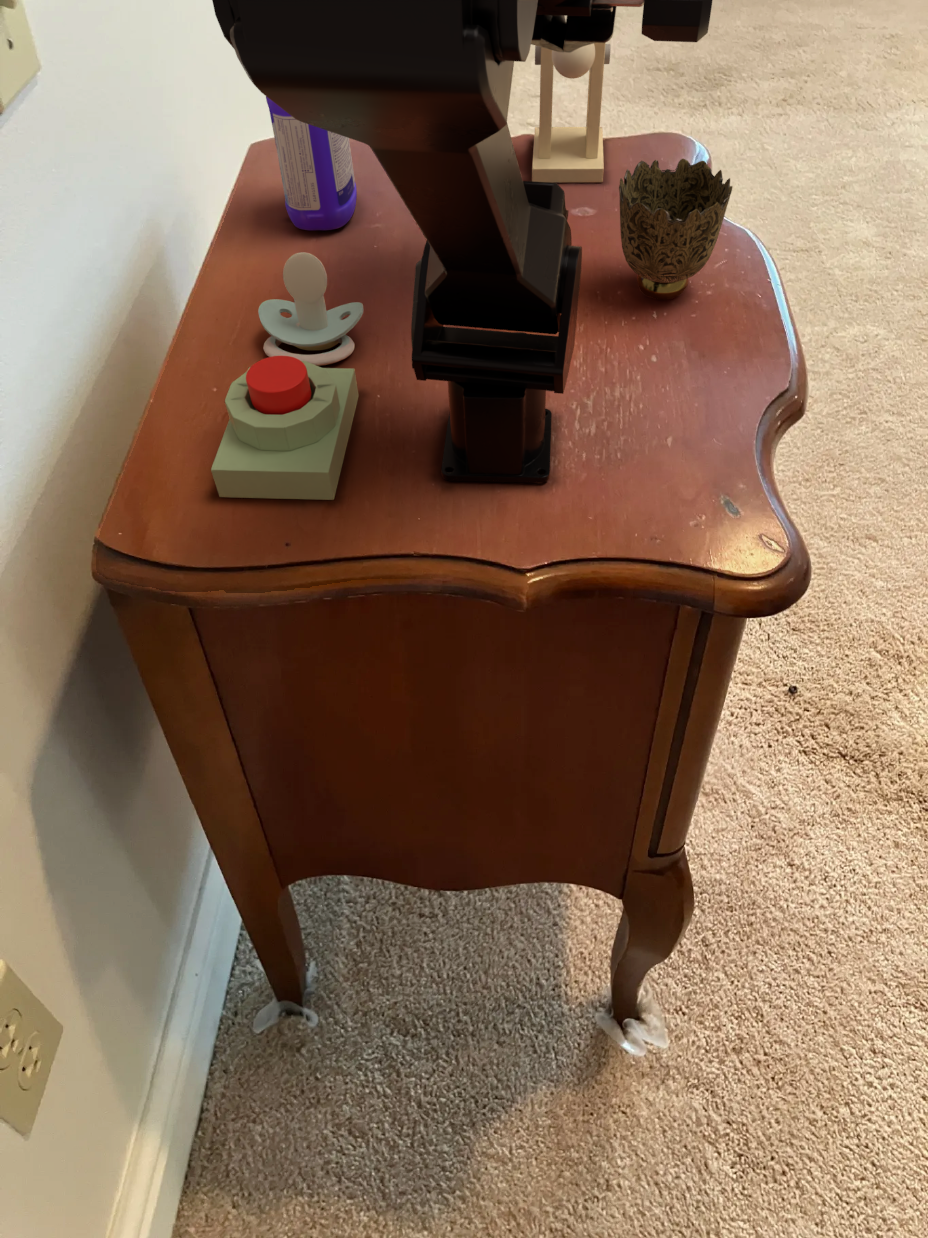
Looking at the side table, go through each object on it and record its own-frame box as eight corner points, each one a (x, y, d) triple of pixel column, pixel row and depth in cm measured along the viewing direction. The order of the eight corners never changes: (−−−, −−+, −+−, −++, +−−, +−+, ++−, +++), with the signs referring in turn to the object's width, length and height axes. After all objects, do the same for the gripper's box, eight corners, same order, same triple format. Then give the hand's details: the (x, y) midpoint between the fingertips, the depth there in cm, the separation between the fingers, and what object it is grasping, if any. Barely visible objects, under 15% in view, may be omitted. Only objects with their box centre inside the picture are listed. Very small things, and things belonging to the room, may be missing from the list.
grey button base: (334, 500, 56) (323, 448, 53) (219, 497, 57) (202, 445, 54) (358, 395, 62) (350, 343, 59) (255, 394, 63) (242, 342, 60)
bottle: (297, 193, 81) (254, -47, 67) (363, 192, 80) (333, -49, 67) (283, 237, 76) (234, -11, 62) (353, 236, 76) (319, -14, 62)
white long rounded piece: (594, 78, 69) (597, 27, 68) (550, 78, 69) (552, 27, 68) (590, 76, 78) (592, 30, 76) (551, 76, 78) (553, 31, 76)
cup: (709, 263, 71) (728, 156, 65) (716, 319, 66) (737, 209, 60) (610, 262, 72) (619, 155, 65) (609, 317, 67) (619, 208, 61)
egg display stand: (602, 182, 80) (612, 48, 72) (531, 182, 80) (533, 49, 72) (601, 139, 85) (610, 10, 77) (534, 140, 85) (537, 11, 77)
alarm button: (305, 416, 55) (300, 392, 54) (245, 415, 56) (239, 391, 54) (316, 379, 58) (311, 355, 56) (258, 378, 58) (252, 354, 57)
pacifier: (354, 375, 64) (371, 322, 68) (341, 294, 59) (360, 241, 63) (251, 370, 65) (273, 318, 68) (229, 289, 60) (254, 238, 64)
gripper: (751, -276, 47) (720, -80, 63) (392, -269, 50) (446, -83, 66) (719, -39, 49) (697, 97, 64) (371, -46, 51) (429, 86, 67)
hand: (566, 44), depth 65 cm, fingers closed
